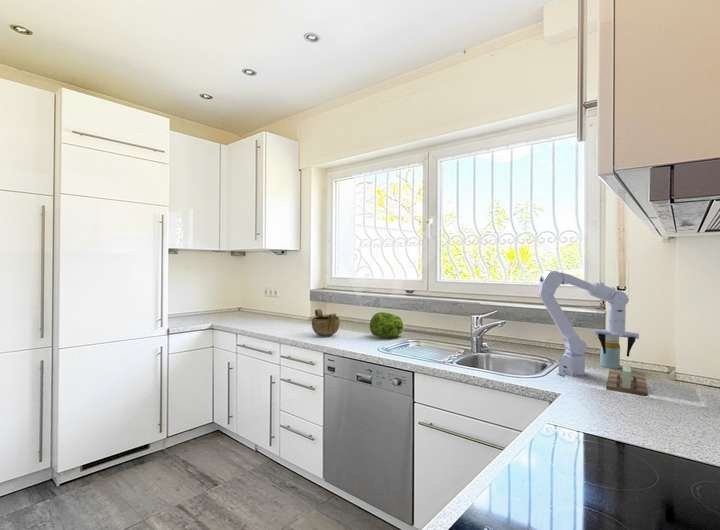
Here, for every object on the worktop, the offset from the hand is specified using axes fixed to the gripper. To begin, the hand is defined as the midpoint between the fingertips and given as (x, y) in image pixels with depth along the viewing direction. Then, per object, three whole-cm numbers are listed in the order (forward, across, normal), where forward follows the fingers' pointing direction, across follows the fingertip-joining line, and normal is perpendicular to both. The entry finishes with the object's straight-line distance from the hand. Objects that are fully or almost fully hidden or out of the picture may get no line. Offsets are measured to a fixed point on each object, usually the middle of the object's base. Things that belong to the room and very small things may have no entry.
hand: (616, 354), depth 153 cm
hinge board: (+9, +4, -6) cm, 12 cm away
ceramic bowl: (+10, -148, -5) cm, 148 cm away
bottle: (+10, -3, +13) cm, 17 cm away
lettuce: (+10, -114, +14) cm, 115 cm away
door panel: (+8, +4, -12) cm, 15 cm away
